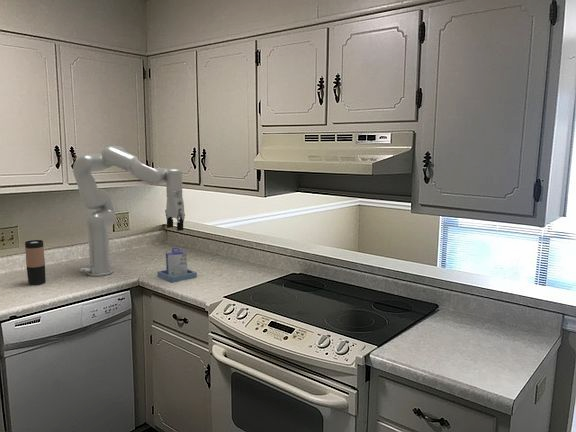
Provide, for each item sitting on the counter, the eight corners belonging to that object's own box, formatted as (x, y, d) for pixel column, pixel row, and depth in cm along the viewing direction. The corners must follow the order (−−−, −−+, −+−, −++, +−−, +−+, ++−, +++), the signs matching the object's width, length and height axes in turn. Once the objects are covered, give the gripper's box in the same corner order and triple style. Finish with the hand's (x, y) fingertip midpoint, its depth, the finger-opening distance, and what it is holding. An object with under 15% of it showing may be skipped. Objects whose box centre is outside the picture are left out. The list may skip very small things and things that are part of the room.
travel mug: (26, 282, 220) (23, 241, 217) (44, 279, 225) (41, 239, 222) (29, 286, 214) (26, 244, 211) (48, 283, 219) (45, 241, 216)
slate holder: (171, 282, 223) (171, 277, 223) (157, 276, 234) (157, 271, 233) (196, 277, 233) (196, 272, 233) (182, 271, 243) (182, 266, 243)
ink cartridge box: (185, 274, 238) (184, 246, 236) (188, 276, 233) (187, 248, 231) (165, 276, 234) (165, 248, 231) (168, 279, 229) (167, 250, 227)
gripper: (190, 195, 223) (191, 230, 226) (172, 192, 236) (173, 225, 238) (176, 196, 218) (177, 232, 221) (158, 193, 231) (159, 227, 233)
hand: (175, 228), depth 230 cm, fingers open, 9 cm apart
